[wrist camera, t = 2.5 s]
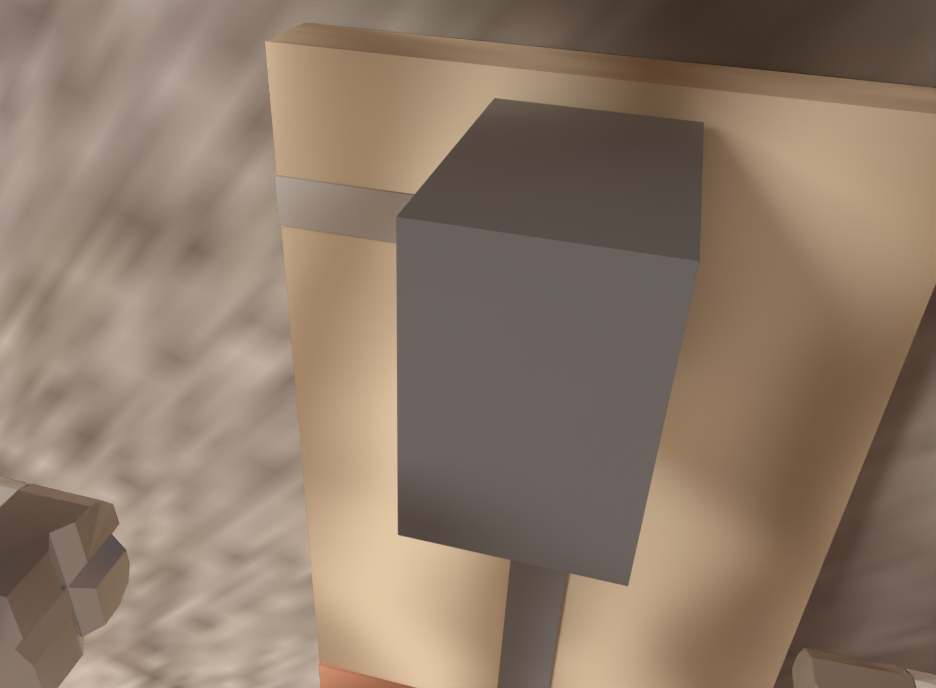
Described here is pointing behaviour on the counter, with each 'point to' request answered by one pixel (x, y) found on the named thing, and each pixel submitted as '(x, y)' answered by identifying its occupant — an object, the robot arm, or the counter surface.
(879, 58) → the counter surface
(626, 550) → the fader
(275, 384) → the counter surface
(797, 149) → the fader panel
